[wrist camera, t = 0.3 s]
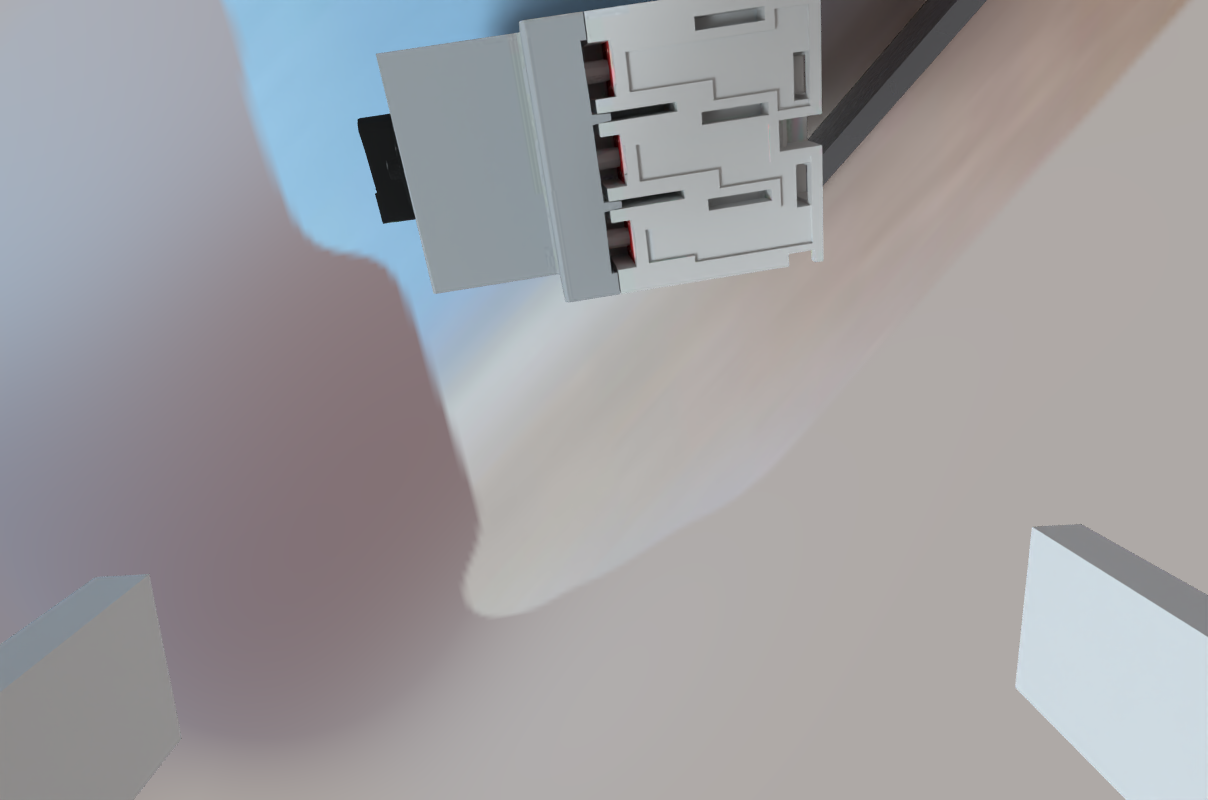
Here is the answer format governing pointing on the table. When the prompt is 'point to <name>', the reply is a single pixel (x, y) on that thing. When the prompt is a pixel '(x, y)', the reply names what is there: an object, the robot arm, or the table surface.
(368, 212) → the table surface
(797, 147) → the circuit breaker
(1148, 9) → the table surface
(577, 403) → the table surface
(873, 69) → the lockout stall
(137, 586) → the robot arm
